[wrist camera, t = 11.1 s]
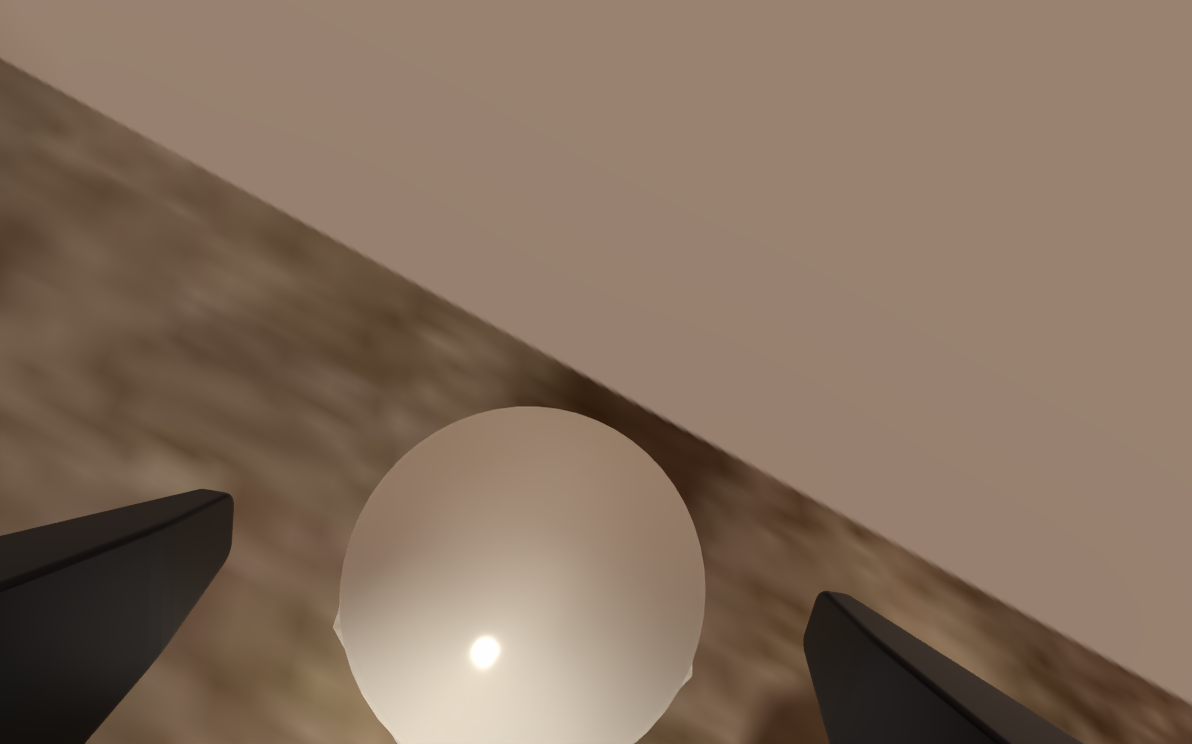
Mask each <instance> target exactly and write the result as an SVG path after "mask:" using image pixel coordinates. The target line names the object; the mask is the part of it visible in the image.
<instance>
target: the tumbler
mask: <svg viewBox="0 0 1192 744" xmlns="http://www.w3.org/2000/svg"><path fill="white" fill-rule="evenodd" d="M704 607H705V573H704V564H703V559H702V553H701V547H700V543H699V540H698V537H697V533H696V530H695V527H694V524H693V521H692V519H691V517H690V514H689V512H688V510H687V507H686V505H685V503H684V501H683V500H682V498H681V496H680V494H679V493H678V491H677V489H676V488H675V486H674V484H673V483H672V482H671V480H670V479H669V478H668V476H667V475H666V474H665V472H664V471H663V470H662V468H661V467H660V466H659V465H658V464H657V463H656V462H655V461H654V460H653V459H652V458H651V457H650V456H649V455H648V454H647V453H646V452H645V451H644V450H643V449H641V448H640V447H639V446H638V445H637V444H635V443H634V442H633V441H632V440H630V439H629V438H627V437H626V436H624V435H623V434H621V433H620V432H618V431H616V430H615V429H613V428H611V427H609V426H607V425H605V424H603V423H601V422H599V421H597V420H594V419H592V418H589V417H586V416H583V415H580V414H578V413H574V412H569V411H565V410H561V409H555V408H546V407H510V408H502V409H495V410H491V411H487V412H483V413H479V414H475V415H472V416H470V417H467V418H464V419H462V420H459V421H456V422H454V423H452V424H450V425H448V426H446V427H444V428H442V429H440V430H438V431H437V432H435V433H433V434H432V435H430V436H429V437H427V438H426V439H424V440H423V441H422V442H420V443H419V444H417V445H416V446H415V447H414V448H412V449H411V450H410V451H409V452H408V453H407V454H405V455H404V456H403V457H402V458H401V459H400V460H399V461H398V462H397V463H396V464H395V465H394V466H393V467H392V468H391V470H390V471H389V472H388V473H387V474H386V475H385V476H384V477H383V479H382V480H381V482H379V484H378V486H377V487H376V489H375V490H374V491H373V493H372V494H371V495H370V497H369V499H368V501H367V503H366V505H365V506H364V508H363V510H362V512H361V514H360V515H359V517H358V520H357V522H356V525H355V527H354V530H353V532H352V535H351V537H350V540H349V543H348V547H347V551H346V555H345V559H344V563H343V568H342V576H341V584H340V607H339V610H338V613H337V617H336V620H335V623H334V626H333V629H334V630H335V632H336V634H337V636H338V638H339V639H340V641H341V643H342V645H343V647H344V648H345V651H346V654H347V658H348V661H349V664H350V668H351V671H352V673H353V675H354V678H355V680H356V682H357V684H358V686H359V689H360V691H361V693H362V695H363V697H364V698H365V700H366V701H367V703H368V704H369V706H370V707H371V709H372V711H373V712H374V714H375V715H376V717H377V718H378V719H379V721H380V722H381V723H382V724H383V725H384V726H385V727H386V728H387V729H388V731H389V732H390V733H391V734H392V735H393V737H394V739H395V741H396V742H397V744H634V743H635V742H636V741H638V740H639V739H640V738H641V737H642V736H643V735H644V734H646V733H647V732H648V731H649V730H650V728H651V727H652V726H653V725H654V724H655V723H656V721H657V720H658V719H659V718H660V717H661V716H662V715H663V713H664V712H665V711H666V709H667V708H668V706H669V705H670V703H671V702H672V700H673V699H674V697H675V696H676V694H677V693H678V691H679V689H680V688H681V687H682V686H683V685H684V684H685V683H686V682H687V681H688V680H689V679H690V678H691V677H692V661H693V658H694V655H695V652H696V649H697V646H698V643H699V639H700V634H701V629H702V623H703V618H704Z"/></svg>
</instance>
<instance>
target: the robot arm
mask: <svg viewBox="0 0 1192 744" xmlns="http://www.w3.org/2000/svg"><path fill="white" fill-rule="evenodd" d="M233 513H234V501H233V498H232V496H231V495H230V494H228V493H225V492H219V491H213V490H207V489H198V490H194V491H190V492H186V493H181V494H177V495H173V496H169V497H164V498H160V499H156V500H151V501H147V502H143V503H139V504H134V505H130V506H126V507H122V508H117V509H113V510H109V511H105V512H100V513H96V514H92V515H88V516H83V517H79V518H75V519H71V520H66V521H62V522H58V523H54V524H49V525H45V526H41V527H37V528H32V529H28V530H24V531H20V532H15V533H11V534H7V535H3V536H0V744H85V743H86V741H87V740H88V739H89V738H90V737H91V736H92V734H93V733H94V732H95V731H96V730H97V729H98V727H99V726H100V725H101V724H102V723H103V722H104V720H105V719H106V718H107V717H108V716H109V714H110V713H111V712H112V711H113V710H114V709H115V707H116V706H117V705H118V704H119V703H120V702H121V700H122V699H123V698H124V697H125V696H126V694H127V693H128V692H129V691H130V690H131V689H132V687H133V686H134V685H135V684H136V683H137V682H138V680H139V679H140V678H141V677H142V676H143V675H144V673H145V672H146V671H147V670H148V669H149V667H150V666H151V665H152V664H153V662H154V661H155V660H156V659H157V658H158V656H159V655H160V654H161V653H162V651H163V650H164V649H165V647H166V646H167V645H168V643H169V642H170V640H171V639H172V638H173V636H174V635H175V633H176V632H177V631H178V629H179V628H180V626H181V625H182V623H183V622H184V621H185V619H186V618H187V616H188V615H189V613H190V612H191V610H192V609H193V608H194V606H195V605H196V603H197V602H198V600H199V599H200V597H201V596H202V595H203V593H204V592H205V590H206V589H207V587H208V586H209V585H210V583H211V582H212V580H213V579H214V577H215V576H216V574H217V573H218V572H219V570H220V569H221V567H222V566H223V564H224V563H225V561H226V559H227V557H228V555H229V553H230V549H231V545H232V530H233ZM804 652H805V656H806V660H807V663H808V667H809V671H810V674H811V678H812V682H813V685H814V689H815V692H816V696H817V700H818V703H819V707H820V711H821V714H822V718H823V722H824V725H825V729H826V732H827V736H828V739H829V742H830V744H1083V743H1082V742H1080V741H1079V740H1077V739H1075V738H1074V737H1072V736H1071V735H1069V734H1068V733H1066V732H1064V731H1063V730H1061V729H1060V728H1058V727H1056V726H1055V725H1053V724H1052V723H1050V722H1049V721H1047V720H1045V719H1044V718H1042V717H1041V716H1039V715H1038V714H1036V713H1034V712H1033V711H1031V710H1030V709H1028V708H1026V707H1025V706H1023V705H1022V704H1020V703H1019V702H1017V701H1015V700H1014V699H1012V698H1011V697H1009V696H1008V695H1006V694H1004V693H1003V692H1001V691H1000V690H998V689H996V688H995V687H993V686H992V685H990V684H989V683H987V682H985V681H984V680H982V679H981V678H979V677H978V676H976V675H974V674H973V673H971V672H970V671H968V670H966V669H965V668H963V667H962V666H960V665H959V664H957V663H955V662H954V661H952V660H951V659H949V658H947V657H946V656H944V655H943V654H941V653H940V652H938V651H936V650H935V649H933V648H932V647H930V646H929V645H927V644H925V643H924V642H922V641H921V640H919V639H917V638H916V637H914V636H913V635H911V634H910V633H908V632H906V631H905V630H903V629H902V628H900V627H899V626H897V625H895V624H894V623H892V622H891V621H889V620H887V619H886V618H884V617H883V616H881V615H880V614H878V613H876V612H875V611H873V610H872V609H870V608H869V607H867V606H865V605H864V604H862V603H861V602H859V601H857V600H856V599H854V598H853V597H851V596H849V595H847V594H843V593H837V592H831V591H823V592H821V593H820V594H819V595H818V596H817V598H816V601H815V604H814V607H813V610H812V613H811V616H810V619H809V622H808V625H807V628H806V631H805V634H804Z"/></svg>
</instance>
